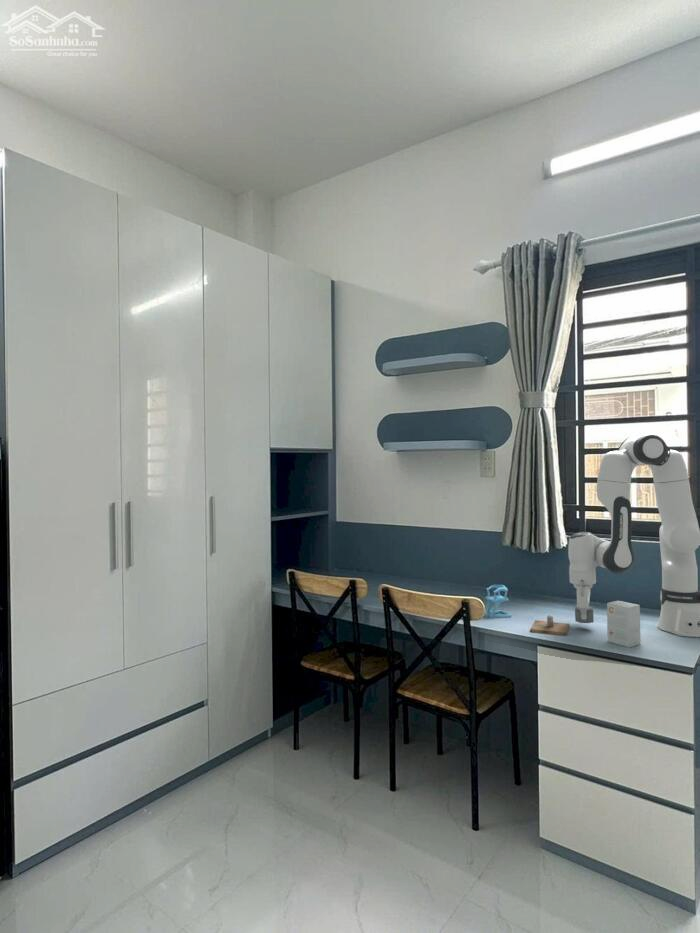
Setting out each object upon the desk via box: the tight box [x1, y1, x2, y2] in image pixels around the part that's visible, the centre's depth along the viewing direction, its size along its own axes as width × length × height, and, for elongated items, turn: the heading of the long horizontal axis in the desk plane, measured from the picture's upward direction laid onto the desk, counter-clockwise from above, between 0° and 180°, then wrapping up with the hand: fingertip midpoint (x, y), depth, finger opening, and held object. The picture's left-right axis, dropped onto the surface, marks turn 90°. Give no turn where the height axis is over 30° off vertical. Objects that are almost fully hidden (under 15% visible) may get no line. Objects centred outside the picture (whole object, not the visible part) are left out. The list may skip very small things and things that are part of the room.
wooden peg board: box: [530, 615, 571, 637], centre depth 211 cm, size 12×12×4 cm
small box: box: [606, 600, 641, 648], centre depth 195 cm, size 8×6×13 cm
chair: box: [485, 584, 513, 619], centre depth 230 cm, size 8×8×12 cm
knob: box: [574, 605, 595, 624], centre depth 211 cm, size 6×6×5 cm
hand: (584, 616), depth 211 cm, fingers closed on knob, 6 cm apart
